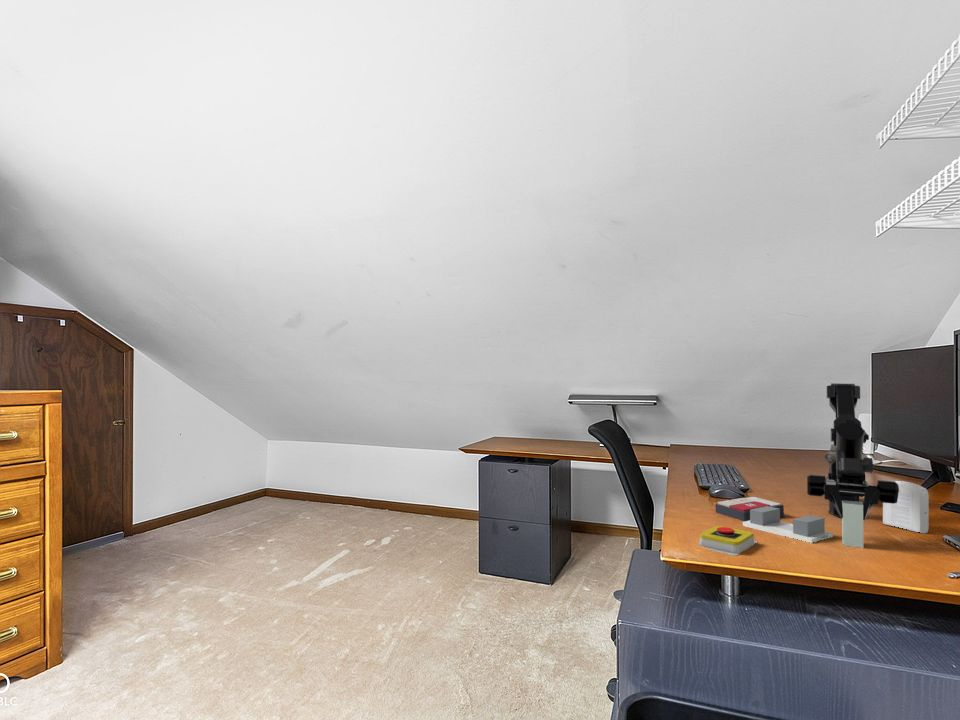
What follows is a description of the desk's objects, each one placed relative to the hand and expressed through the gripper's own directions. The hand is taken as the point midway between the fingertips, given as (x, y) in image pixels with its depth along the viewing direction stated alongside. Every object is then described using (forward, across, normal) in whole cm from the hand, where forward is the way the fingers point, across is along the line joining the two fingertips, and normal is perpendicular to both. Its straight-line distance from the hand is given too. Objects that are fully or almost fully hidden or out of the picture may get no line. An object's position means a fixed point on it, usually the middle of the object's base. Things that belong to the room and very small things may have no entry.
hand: (852, 518), depth 135 cm
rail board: (0, -14, +9) cm, 17 cm away
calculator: (-9, -24, +20) cm, 32 cm away
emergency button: (+15, -26, -5) cm, 31 cm away
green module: (+4, 0, +6) cm, 7 cm away
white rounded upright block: (-14, +13, +23) cm, 30 cm away
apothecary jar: (-34, +2, +43) cm, 55 cm away
